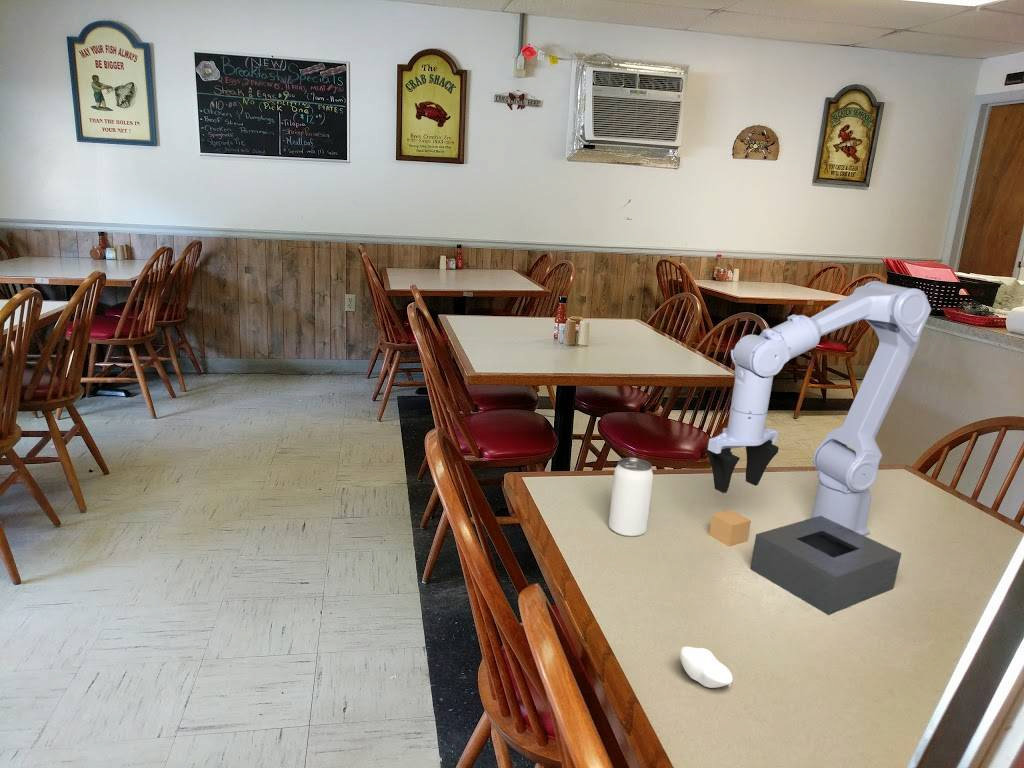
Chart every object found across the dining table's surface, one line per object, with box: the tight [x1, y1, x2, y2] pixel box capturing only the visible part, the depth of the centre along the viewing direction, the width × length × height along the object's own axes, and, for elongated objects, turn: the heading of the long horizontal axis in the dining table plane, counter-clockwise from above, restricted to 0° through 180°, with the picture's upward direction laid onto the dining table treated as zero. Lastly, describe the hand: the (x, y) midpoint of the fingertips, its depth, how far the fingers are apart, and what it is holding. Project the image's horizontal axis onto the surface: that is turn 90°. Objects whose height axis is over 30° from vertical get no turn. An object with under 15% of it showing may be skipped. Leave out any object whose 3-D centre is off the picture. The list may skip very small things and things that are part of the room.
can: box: [608, 457, 654, 538], centre depth 123 cm, size 6×6×12 cm
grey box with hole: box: [750, 516, 903, 616], centre depth 111 cm, size 16×14×6 cm
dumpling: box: [679, 645, 734, 689], centre depth 86 cm, size 7×5×4 cm
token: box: [708, 509, 752, 547], centre depth 123 cm, size 4×4×4 cm
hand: (736, 486), depth 121 cm, fingers open, 7 cm apart
